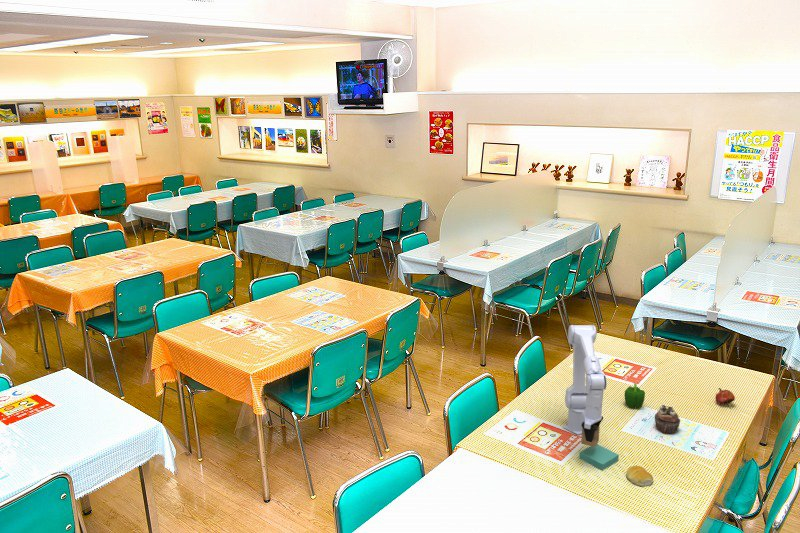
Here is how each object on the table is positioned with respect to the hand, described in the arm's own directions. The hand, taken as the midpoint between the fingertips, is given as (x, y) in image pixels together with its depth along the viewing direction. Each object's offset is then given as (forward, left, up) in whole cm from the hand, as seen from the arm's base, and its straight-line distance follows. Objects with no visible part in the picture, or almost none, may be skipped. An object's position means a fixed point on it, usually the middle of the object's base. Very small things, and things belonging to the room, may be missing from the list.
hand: (591, 437), depth 228 cm
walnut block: (0, 0, -2) cm, 2 cm away
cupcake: (-42, +7, -9) cm, 43 cm away
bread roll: (-3, +19, -9) cm, 21 cm away
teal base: (-2, +3, -9) cm, 10 cm away
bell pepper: (-49, -12, -9) cm, 51 cm away
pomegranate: (-81, +12, -9) cm, 82 cm away
